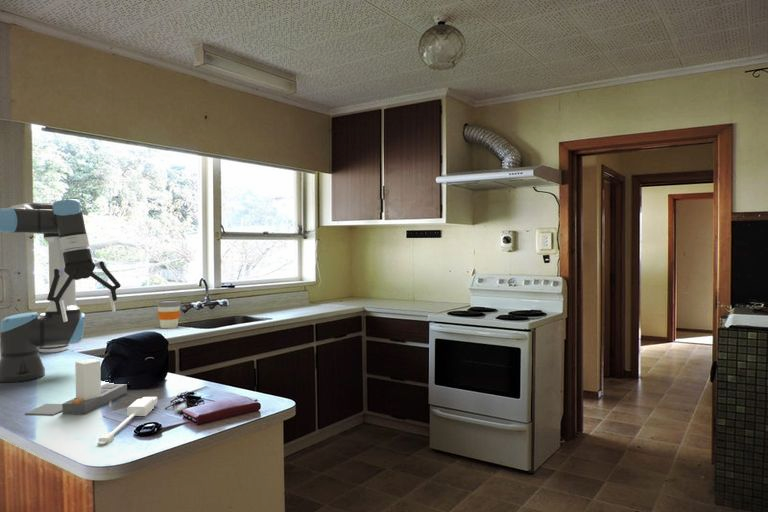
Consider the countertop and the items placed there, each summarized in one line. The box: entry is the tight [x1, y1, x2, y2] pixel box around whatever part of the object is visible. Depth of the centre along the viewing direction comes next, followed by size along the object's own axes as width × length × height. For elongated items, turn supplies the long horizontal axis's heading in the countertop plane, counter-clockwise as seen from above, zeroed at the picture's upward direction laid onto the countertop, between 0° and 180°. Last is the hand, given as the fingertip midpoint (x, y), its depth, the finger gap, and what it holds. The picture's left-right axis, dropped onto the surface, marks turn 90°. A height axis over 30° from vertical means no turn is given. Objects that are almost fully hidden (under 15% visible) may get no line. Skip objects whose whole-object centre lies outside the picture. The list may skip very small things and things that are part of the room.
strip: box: [61, 383, 128, 415], centre depth 173 cm, size 30×7×4 cm, turn 175°
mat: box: [24, 403, 63, 416], centre depth 162 cm, size 9×9×1 cm
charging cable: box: [97, 396, 158, 445], centre depth 151 cm, size 5×32×3 cm, turn 3°
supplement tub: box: [39, 312, 70, 354], centre depth 245 cm, size 12×12×17 cm
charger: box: [74, 358, 102, 400], centre depth 165 cm, size 5×5×11 cm
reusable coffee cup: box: [156, 299, 181, 329], centre depth 308 cm, size 13×13×15 cm
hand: (90, 316), depth 168 cm, fingers open, 13 cm apart
